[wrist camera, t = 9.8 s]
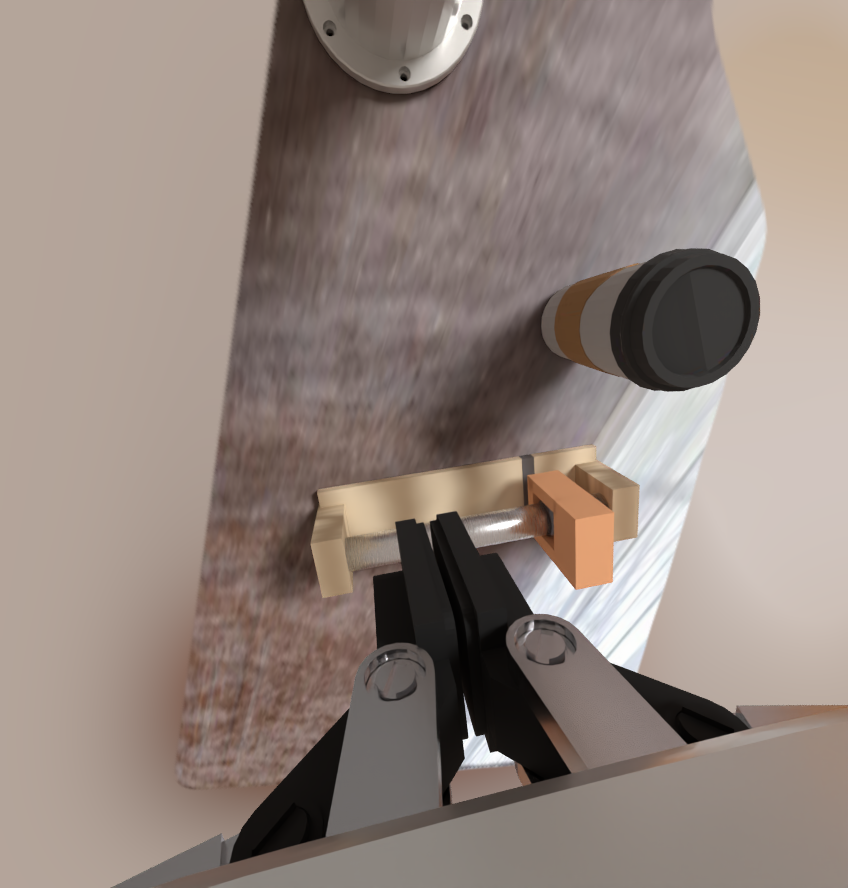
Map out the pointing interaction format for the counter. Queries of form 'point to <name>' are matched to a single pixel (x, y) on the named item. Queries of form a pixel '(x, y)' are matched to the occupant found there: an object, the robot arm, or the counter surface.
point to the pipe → (479, 527)
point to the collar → (575, 529)
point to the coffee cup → (658, 319)
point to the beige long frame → (454, 501)
